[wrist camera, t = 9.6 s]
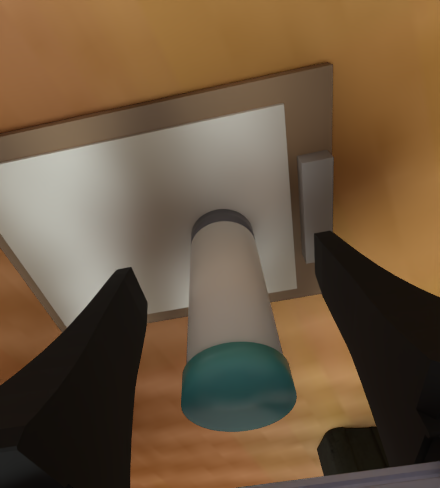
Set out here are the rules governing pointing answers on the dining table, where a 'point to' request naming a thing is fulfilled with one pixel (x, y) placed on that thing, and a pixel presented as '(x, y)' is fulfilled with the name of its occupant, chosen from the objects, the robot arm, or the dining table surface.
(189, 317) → the marker
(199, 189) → the clipboard
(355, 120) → the dining table surface
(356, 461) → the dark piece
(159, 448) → the dining table surface
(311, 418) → the dining table surface
